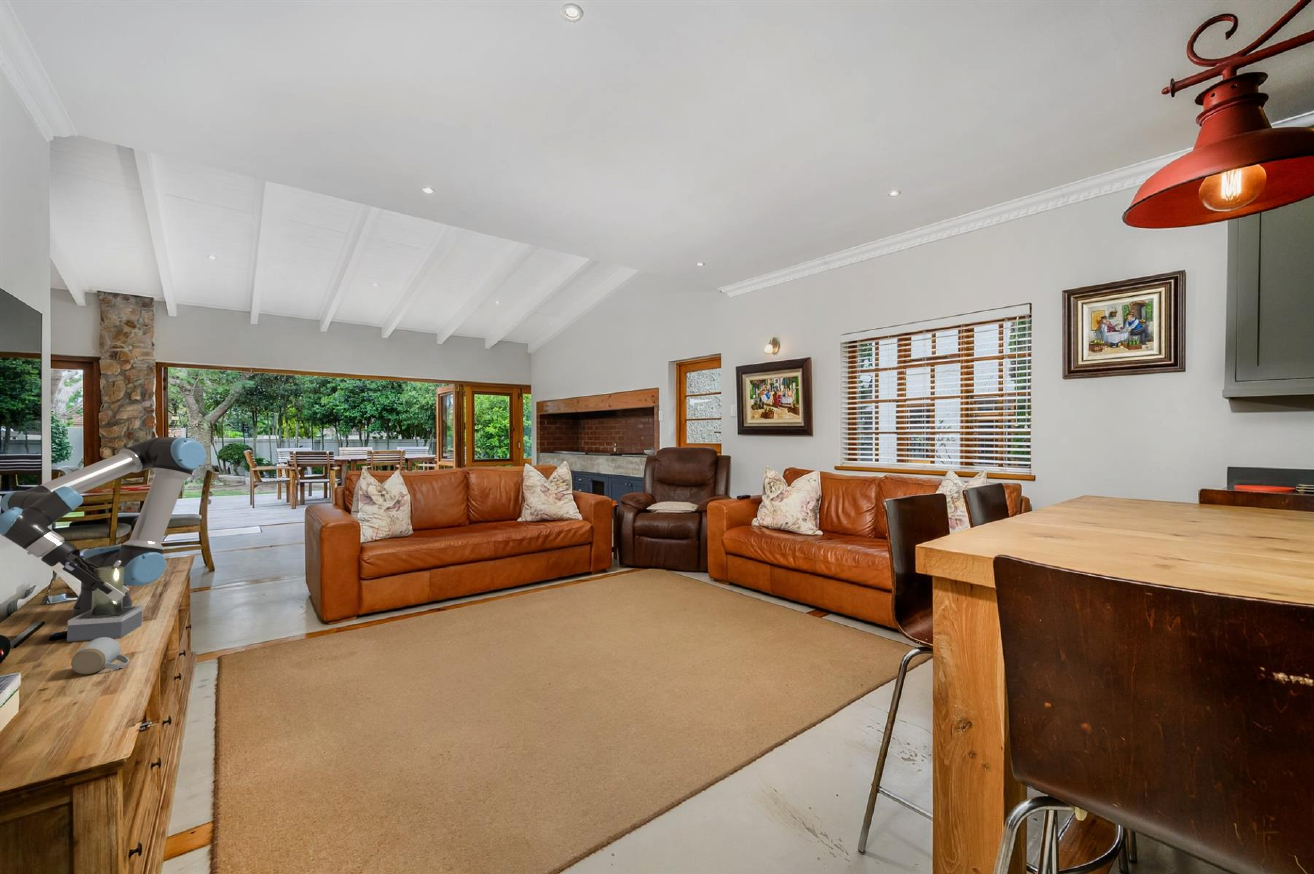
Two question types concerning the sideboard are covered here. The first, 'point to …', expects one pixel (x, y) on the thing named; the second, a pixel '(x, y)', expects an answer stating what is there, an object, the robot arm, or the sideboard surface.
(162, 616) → the sideboard surface
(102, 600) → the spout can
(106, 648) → the ceramic mug
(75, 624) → the grey rectangular tray
